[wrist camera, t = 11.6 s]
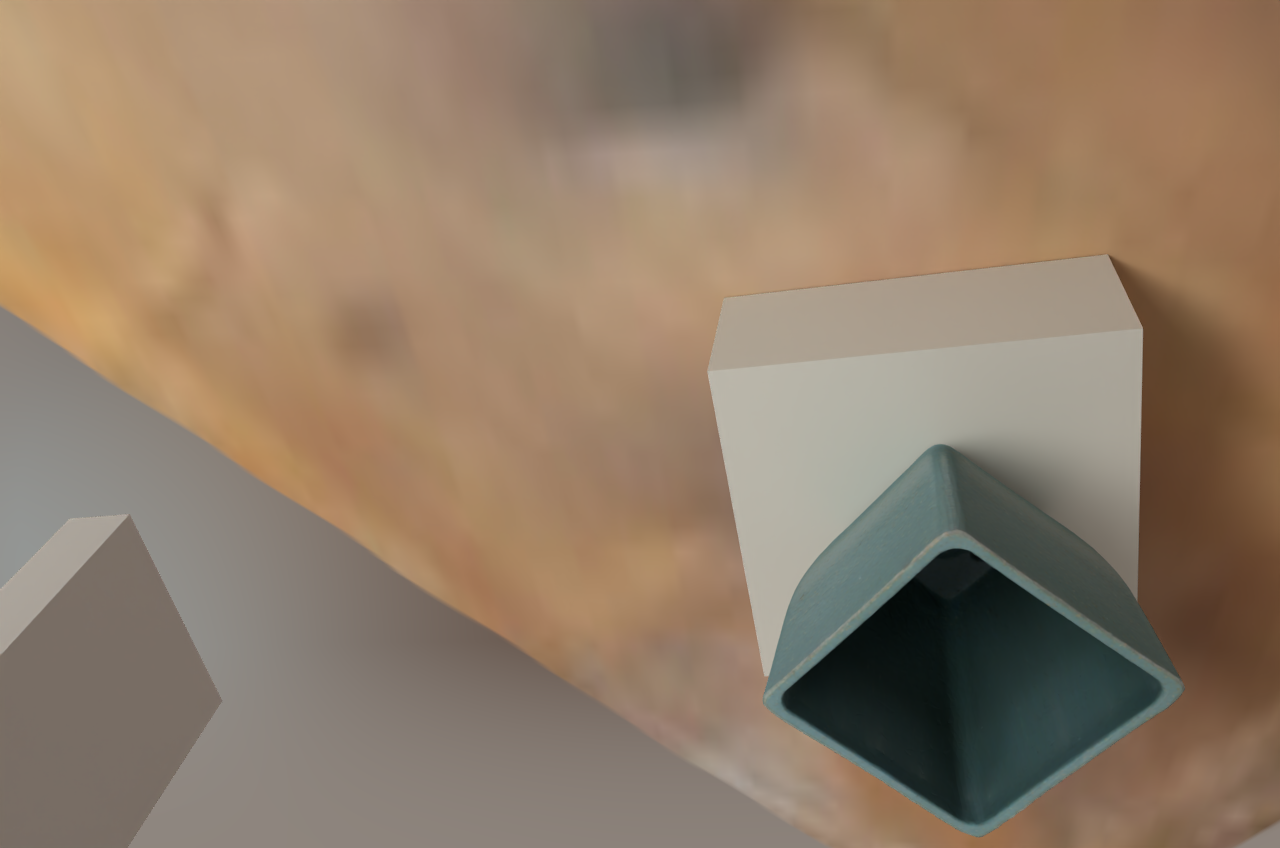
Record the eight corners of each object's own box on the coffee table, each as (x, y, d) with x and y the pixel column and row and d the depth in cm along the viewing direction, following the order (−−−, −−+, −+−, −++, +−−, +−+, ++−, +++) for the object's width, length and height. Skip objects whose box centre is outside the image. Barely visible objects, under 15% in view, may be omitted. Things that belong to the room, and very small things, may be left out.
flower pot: (933, 367, 38) (952, 526, 31) (1130, 508, 40) (1196, 693, 32) (771, 531, 43) (754, 706, 35) (955, 652, 44) (976, 844, 37)
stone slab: (723, 297, 45) (707, 371, 40) (1107, 254, 42) (1143, 328, 36) (773, 582, 52) (764, 676, 46) (1106, 564, 48) (1136, 662, 43)
